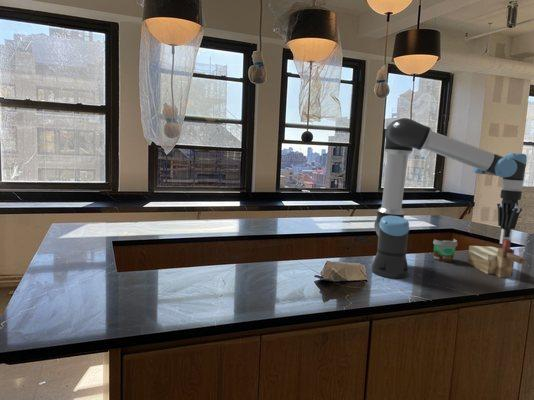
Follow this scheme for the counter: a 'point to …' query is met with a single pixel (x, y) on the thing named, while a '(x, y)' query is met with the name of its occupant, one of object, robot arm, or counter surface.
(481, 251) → the cream flat piece
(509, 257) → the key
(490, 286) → the counter surface
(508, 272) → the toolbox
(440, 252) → the food container
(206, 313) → the counter surface
